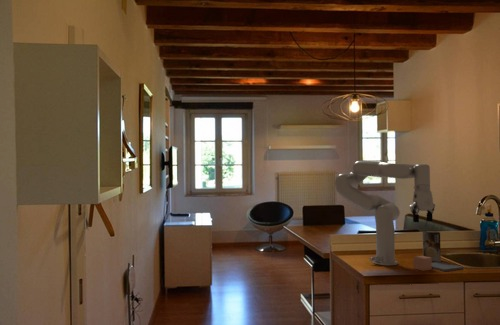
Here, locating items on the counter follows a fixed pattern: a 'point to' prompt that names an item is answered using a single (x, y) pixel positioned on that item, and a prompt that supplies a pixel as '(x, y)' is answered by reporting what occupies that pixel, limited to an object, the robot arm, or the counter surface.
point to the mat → (445, 266)
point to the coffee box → (432, 245)
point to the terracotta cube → (423, 263)
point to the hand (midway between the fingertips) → (422, 221)
